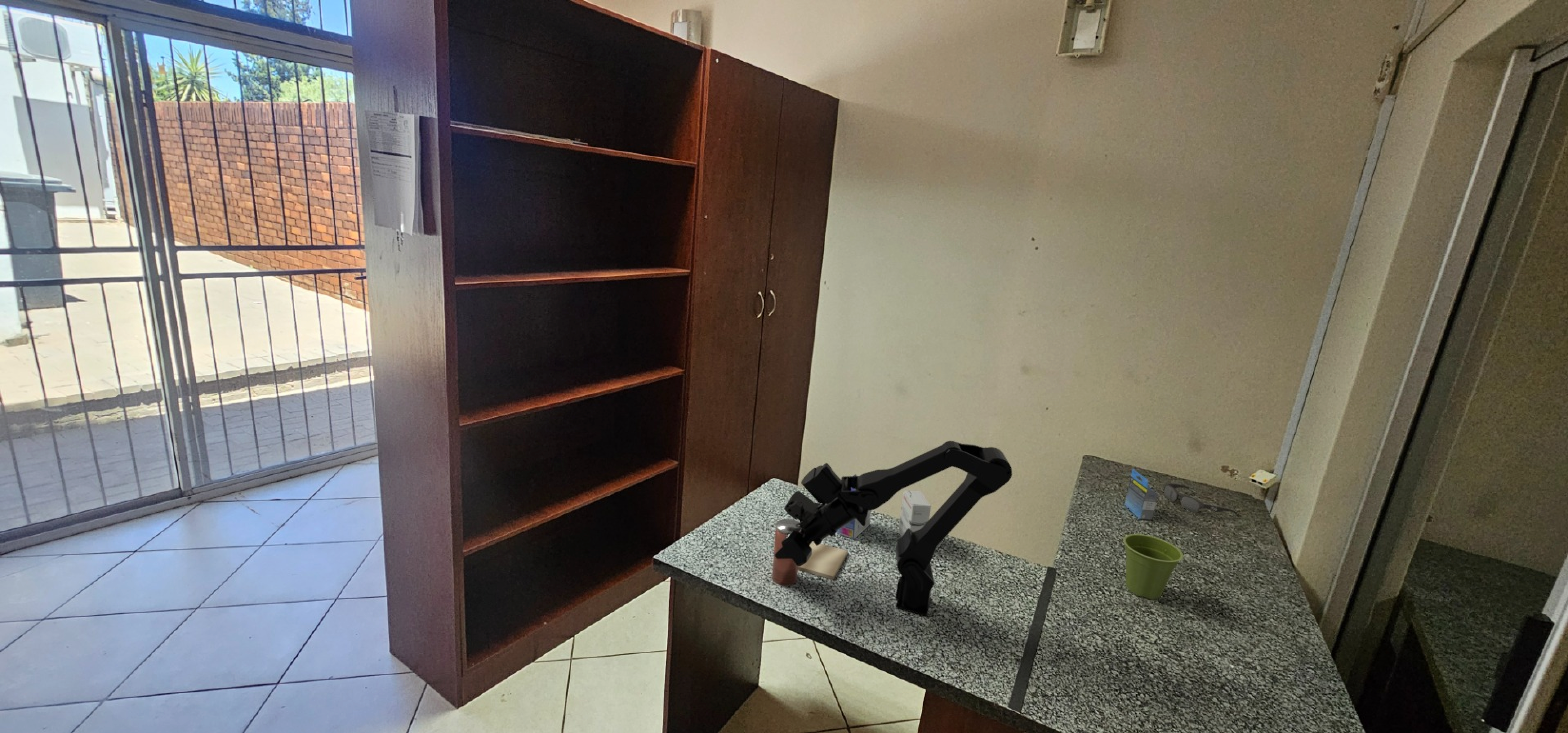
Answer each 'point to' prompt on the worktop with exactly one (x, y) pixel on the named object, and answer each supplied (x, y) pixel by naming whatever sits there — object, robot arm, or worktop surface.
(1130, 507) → the label tape cartridge
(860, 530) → the ink cartridge box
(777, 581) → the tin
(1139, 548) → the plant pot
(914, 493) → the ink box
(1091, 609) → the worktop surface
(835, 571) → the coaster
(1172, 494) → the sunglasses
